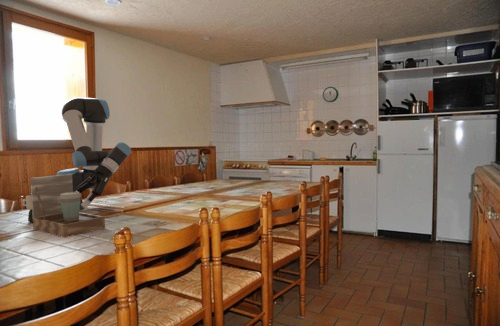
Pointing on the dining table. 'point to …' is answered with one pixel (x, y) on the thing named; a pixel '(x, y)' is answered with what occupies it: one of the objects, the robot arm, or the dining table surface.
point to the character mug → (28, 206)
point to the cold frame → (58, 208)
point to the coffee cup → (70, 205)
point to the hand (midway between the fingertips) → (75, 205)
